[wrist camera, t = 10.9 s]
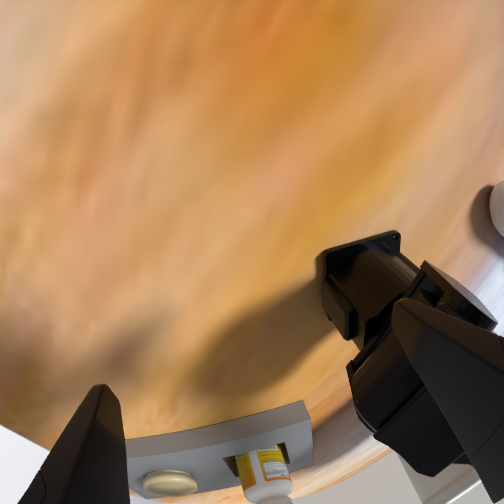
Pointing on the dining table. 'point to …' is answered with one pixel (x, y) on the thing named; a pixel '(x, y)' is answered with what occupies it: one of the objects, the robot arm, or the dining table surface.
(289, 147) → the dining table surface
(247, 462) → the supplement bottle
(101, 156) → the dining table surface
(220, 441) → the plate
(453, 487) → the utensil holder
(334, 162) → the dining table surface
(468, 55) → the dining table surface
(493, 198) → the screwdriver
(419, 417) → the robot arm
